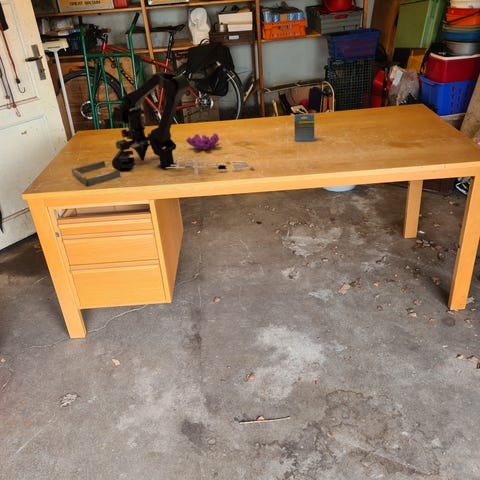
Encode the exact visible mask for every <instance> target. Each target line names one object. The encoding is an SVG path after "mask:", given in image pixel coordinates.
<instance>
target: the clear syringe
mask: <svg viewBox="0 0 480 480" xmlns="http://www.w3.org/2000/svg"><path fill="white" fill-rule="evenodd" d="M228 160H229V156H228V155H226V156H225V161H228ZM181 161H182V160H179V159H178V160H175V165H169V166H176V167H167V168H169V169H185V168H186V167H190V168H191V167H192V169H193V171H194V175H196V176H197V175H199V169H202V168H203V170H204V169H206V168H207V167H209V166H213V168H216V169H217V170H227V165H228V166H229V163H218V161H217V160H216V161H215V164H214V163H211V164H209V163H207V162H205V163H204V164H203V165H200V164H199V159H197V158H193V162H192V161H185V166H181V165H182V162H181ZM231 165H233V168H232V169H231V170H232V171H242V169H244V168H250V169H251V168H255V165H253V164H249V165H248V162H247V160H246V161H244V160H243V161H241V160H239V161H238V160H235V161H232V164H231Z"/></svg>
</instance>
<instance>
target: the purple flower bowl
mask: <svg viewBox="0 0 480 480" xmlns="http://www.w3.org/2000/svg"><path fill="white" fill-rule="evenodd" d="M201 136H202V137H201ZM201 136H200V134H198V133H196V134H195V135H194V136H193V137H190V136H189V137H187V138H186V142H187V144H188V145H190V146H192V147H193V148H195V149H197V150H208V149H209V148H213V147H214V146H216V144H218V142H219V140H220V137H219V134H217V133H213V134H212V136H210V137H209V136H207V135H206V134H204V135H201Z"/></svg>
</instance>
